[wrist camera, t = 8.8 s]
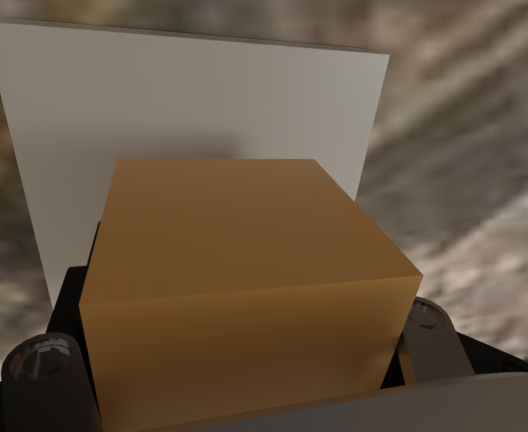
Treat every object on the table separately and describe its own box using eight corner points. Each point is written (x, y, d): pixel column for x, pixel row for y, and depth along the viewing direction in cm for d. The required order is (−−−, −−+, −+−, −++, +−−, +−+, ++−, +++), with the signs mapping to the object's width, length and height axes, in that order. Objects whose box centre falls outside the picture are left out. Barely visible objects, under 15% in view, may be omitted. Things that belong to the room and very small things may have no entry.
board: (7, 17, 12) (-242, 54, 5) (364, 48, 15) (560, 98, 8) (67, 297, 18) (0, 513, 10) (317, 277, 21) (403, 431, 14)
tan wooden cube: (117, 158, 11) (78, 304, 6) (314, 159, 12) (424, 275, 7) (133, 314, 14) (117, 502, 8) (290, 299, 15) (355, 451, 10)
